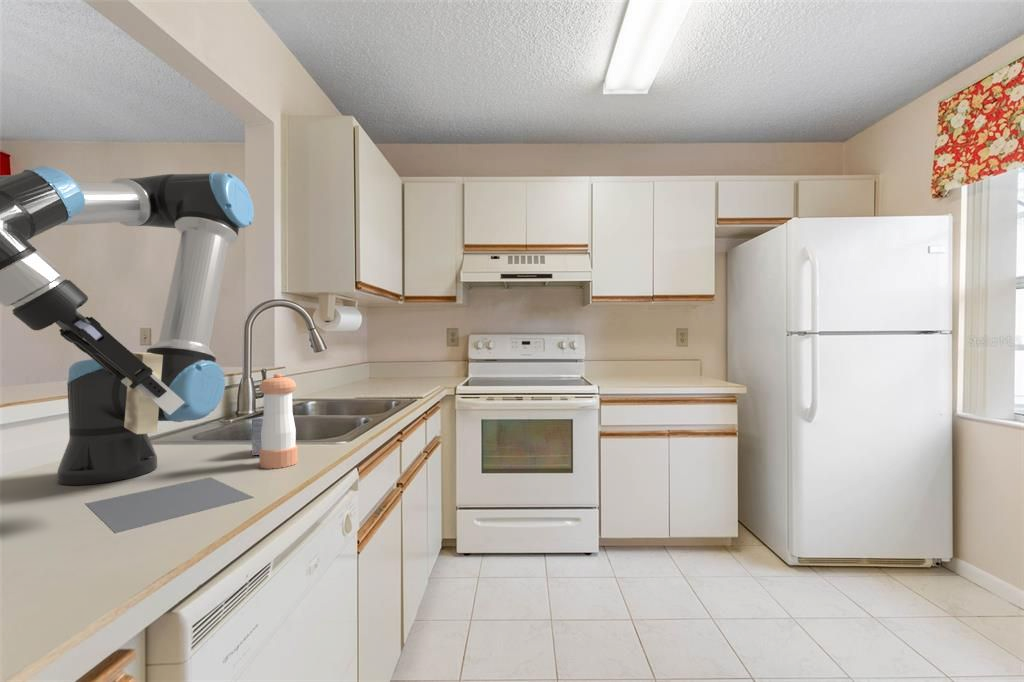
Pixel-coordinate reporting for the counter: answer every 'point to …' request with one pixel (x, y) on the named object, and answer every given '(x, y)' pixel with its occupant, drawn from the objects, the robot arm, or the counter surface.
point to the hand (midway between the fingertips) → (168, 405)
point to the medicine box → (256, 435)
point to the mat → (164, 503)
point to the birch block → (143, 400)
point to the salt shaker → (278, 423)
